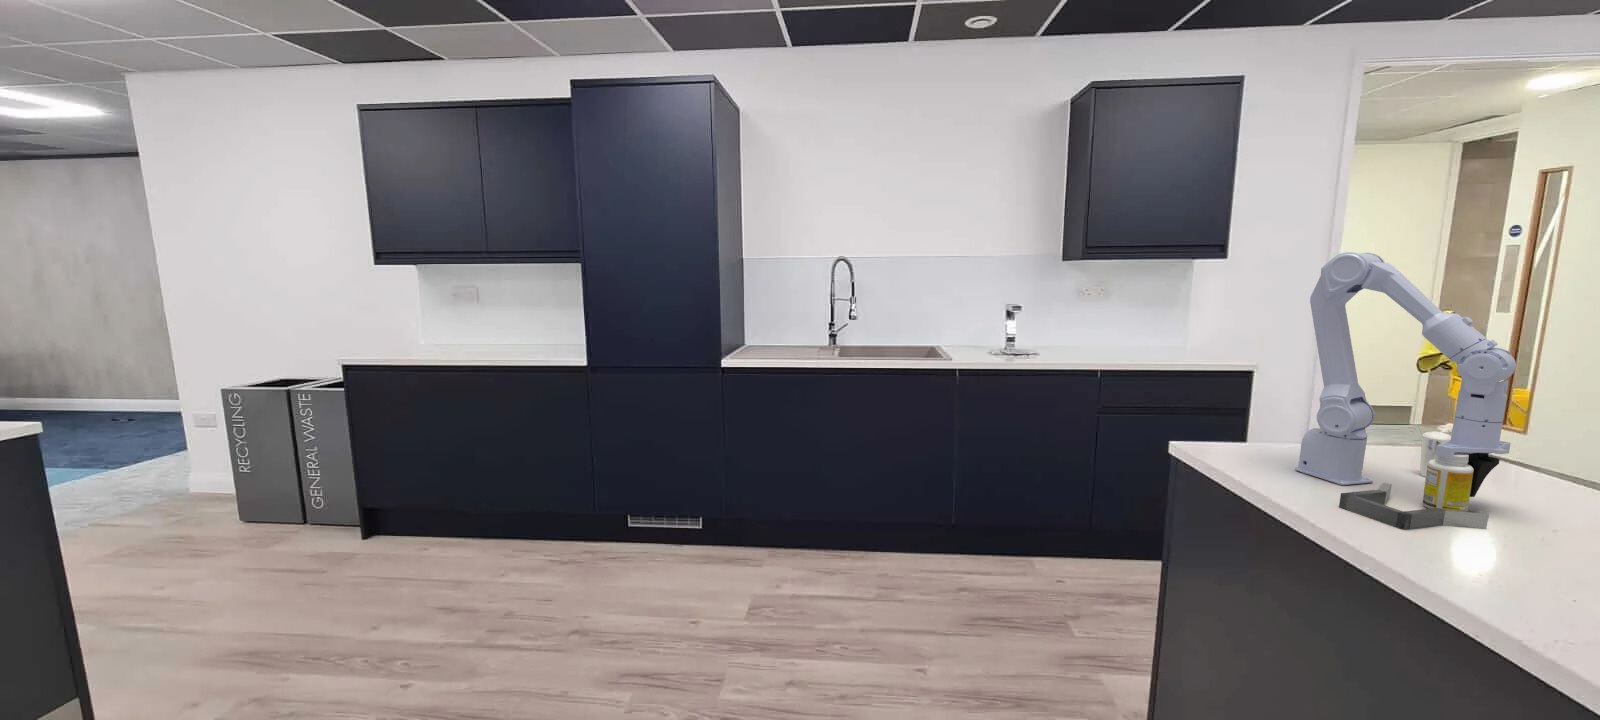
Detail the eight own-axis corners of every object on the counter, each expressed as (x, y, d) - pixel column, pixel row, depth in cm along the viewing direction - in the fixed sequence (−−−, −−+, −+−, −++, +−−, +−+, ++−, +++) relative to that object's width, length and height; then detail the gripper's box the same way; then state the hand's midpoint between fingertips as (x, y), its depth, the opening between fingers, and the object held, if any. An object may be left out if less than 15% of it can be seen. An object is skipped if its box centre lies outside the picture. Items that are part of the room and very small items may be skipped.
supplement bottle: (1473, 512, 110) (1482, 454, 108) (1457, 518, 107) (1466, 459, 106) (1431, 501, 115) (1439, 445, 113) (1415, 506, 112) (1423, 450, 111)
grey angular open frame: (1323, 501, 114) (1325, 488, 114) (1383, 495, 118) (1385, 482, 117) (1423, 536, 100) (1426, 521, 99) (1488, 528, 103) (1491, 513, 103)
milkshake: (1408, 470, 133) (1415, 423, 131) (1444, 475, 129) (1452, 427, 128) (1412, 476, 129) (1420, 427, 127) (1449, 481, 126) (1457, 432, 124)
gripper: (1477, 426, 104) (1464, 506, 106) (1538, 422, 108) (1524, 499, 110) (1426, 416, 111) (1414, 492, 113) (1485, 412, 114) (1473, 486, 116)
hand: (1465, 495), depth 112 cm, fingers closed
